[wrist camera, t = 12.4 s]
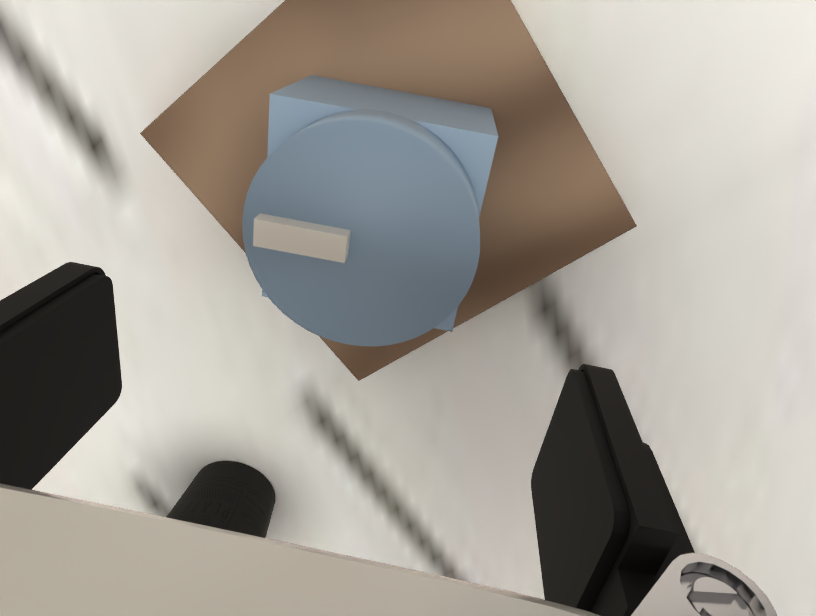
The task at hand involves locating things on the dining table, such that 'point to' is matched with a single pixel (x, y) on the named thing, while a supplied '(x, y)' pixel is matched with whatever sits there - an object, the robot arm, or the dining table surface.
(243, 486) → the drinking cup
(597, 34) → the dining table surface
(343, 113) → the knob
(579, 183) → the board
